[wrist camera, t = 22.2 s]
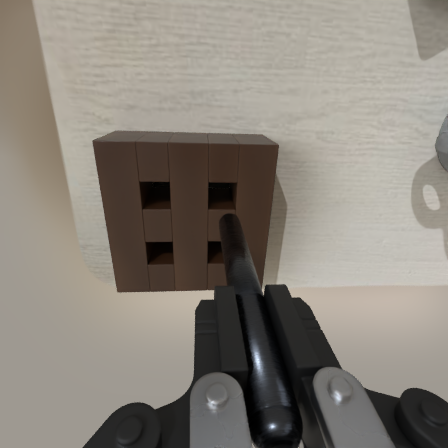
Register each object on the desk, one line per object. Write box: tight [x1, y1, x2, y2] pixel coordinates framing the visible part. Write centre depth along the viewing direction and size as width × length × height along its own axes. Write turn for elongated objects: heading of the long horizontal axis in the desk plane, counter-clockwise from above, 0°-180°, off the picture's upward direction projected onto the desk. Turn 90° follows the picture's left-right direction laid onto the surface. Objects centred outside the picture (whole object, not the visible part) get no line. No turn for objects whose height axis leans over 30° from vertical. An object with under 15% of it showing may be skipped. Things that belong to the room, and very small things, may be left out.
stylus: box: [219, 213, 303, 448], centre depth 12 cm, size 1×1×13 cm
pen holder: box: [93, 131, 279, 292], centre depth 25 cm, size 14×14×6 cm
